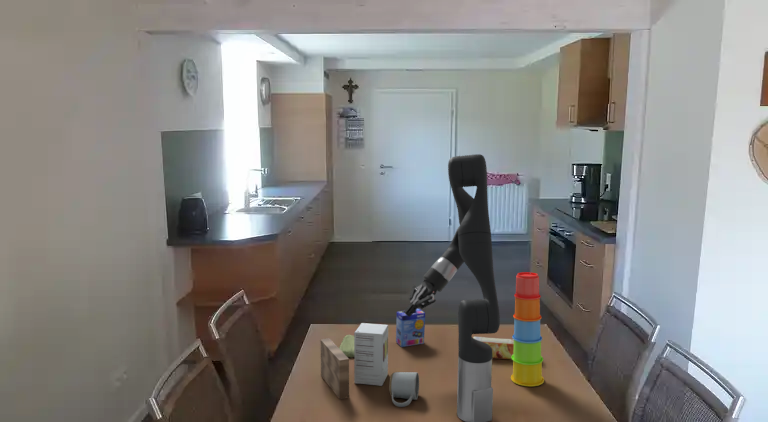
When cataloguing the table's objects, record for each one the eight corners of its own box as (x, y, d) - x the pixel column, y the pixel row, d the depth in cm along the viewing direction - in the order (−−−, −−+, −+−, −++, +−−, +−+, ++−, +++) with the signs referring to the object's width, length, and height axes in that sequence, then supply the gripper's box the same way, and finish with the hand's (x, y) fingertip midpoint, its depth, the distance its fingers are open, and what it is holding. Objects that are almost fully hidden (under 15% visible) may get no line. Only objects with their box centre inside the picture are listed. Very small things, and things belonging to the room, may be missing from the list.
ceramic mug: (393, 389, 172) (393, 366, 171) (419, 392, 171) (419, 368, 169) (386, 406, 162) (386, 381, 161) (414, 409, 160) (414, 384, 159)
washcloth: (378, 341, 212) (378, 333, 212) (372, 360, 195) (372, 351, 194) (344, 340, 214) (344, 332, 213) (335, 358, 196) (335, 349, 196)
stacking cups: (514, 387, 174) (519, 278, 169) (507, 373, 184) (511, 270, 179) (547, 387, 174) (553, 279, 169) (539, 373, 184) (544, 270, 179)
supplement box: (382, 386, 174) (382, 334, 172) (353, 383, 176) (353, 332, 174) (388, 373, 183) (388, 324, 181) (361, 371, 185) (361, 322, 183)
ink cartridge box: (401, 347, 205) (402, 309, 203) (395, 342, 210) (395, 305, 208) (425, 343, 209) (426, 306, 207) (418, 338, 214) (418, 302, 212)
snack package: (531, 355, 199) (532, 337, 198) (534, 363, 193) (535, 344, 192) (471, 351, 202) (471, 334, 201) (471, 359, 196) (472, 340, 195)
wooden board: (349, 397, 167) (348, 358, 165) (339, 399, 166) (339, 360, 164) (329, 373, 183) (329, 338, 182) (320, 374, 182) (320, 339, 180)
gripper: (423, 262, 189) (390, 301, 186) (443, 271, 178) (408, 314, 174) (437, 275, 192) (404, 314, 189) (457, 286, 181) (423, 328, 177)
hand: (406, 314), depth 182 cm, fingers closed
